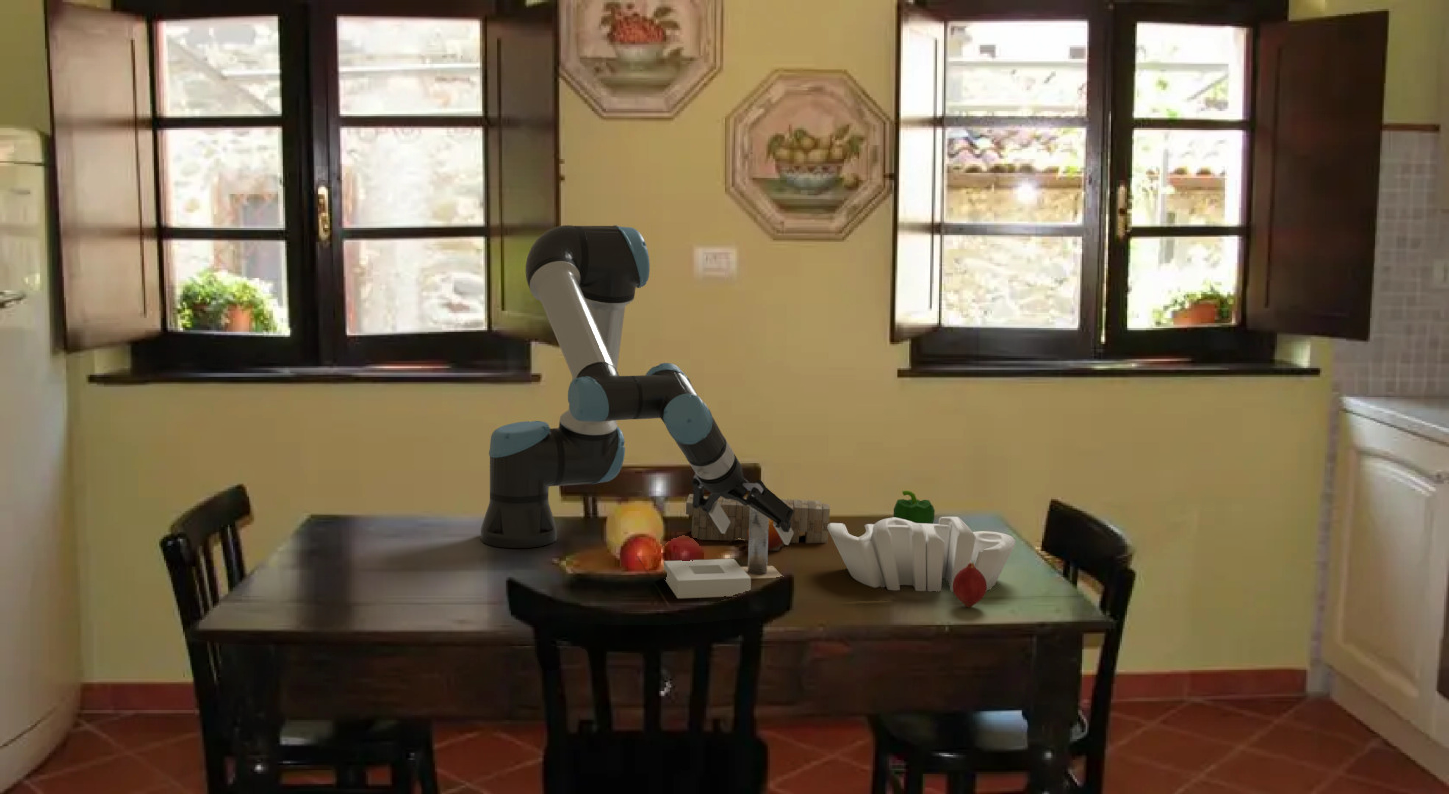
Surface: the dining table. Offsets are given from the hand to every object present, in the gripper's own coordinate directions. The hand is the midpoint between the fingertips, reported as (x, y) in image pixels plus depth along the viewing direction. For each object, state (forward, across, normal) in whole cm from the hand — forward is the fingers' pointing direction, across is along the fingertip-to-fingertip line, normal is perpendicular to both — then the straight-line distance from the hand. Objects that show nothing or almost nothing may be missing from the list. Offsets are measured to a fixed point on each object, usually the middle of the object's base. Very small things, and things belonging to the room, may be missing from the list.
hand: (757, 533), depth 255 cm
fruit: (+20, -9, +8) cm, 23 cm away
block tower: (+25, -16, +13) cm, 32 cm away
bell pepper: (+39, +10, +27) cm, 48 cm away
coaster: (+7, -1, -4) cm, 9 cm away
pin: (+7, -1, -4) cm, 8 cm away
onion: (+11, +39, -1) cm, 41 cm away
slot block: (-2, -3, -14) cm, 15 cm away
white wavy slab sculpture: (+19, +25, +7) cm, 32 cm away
